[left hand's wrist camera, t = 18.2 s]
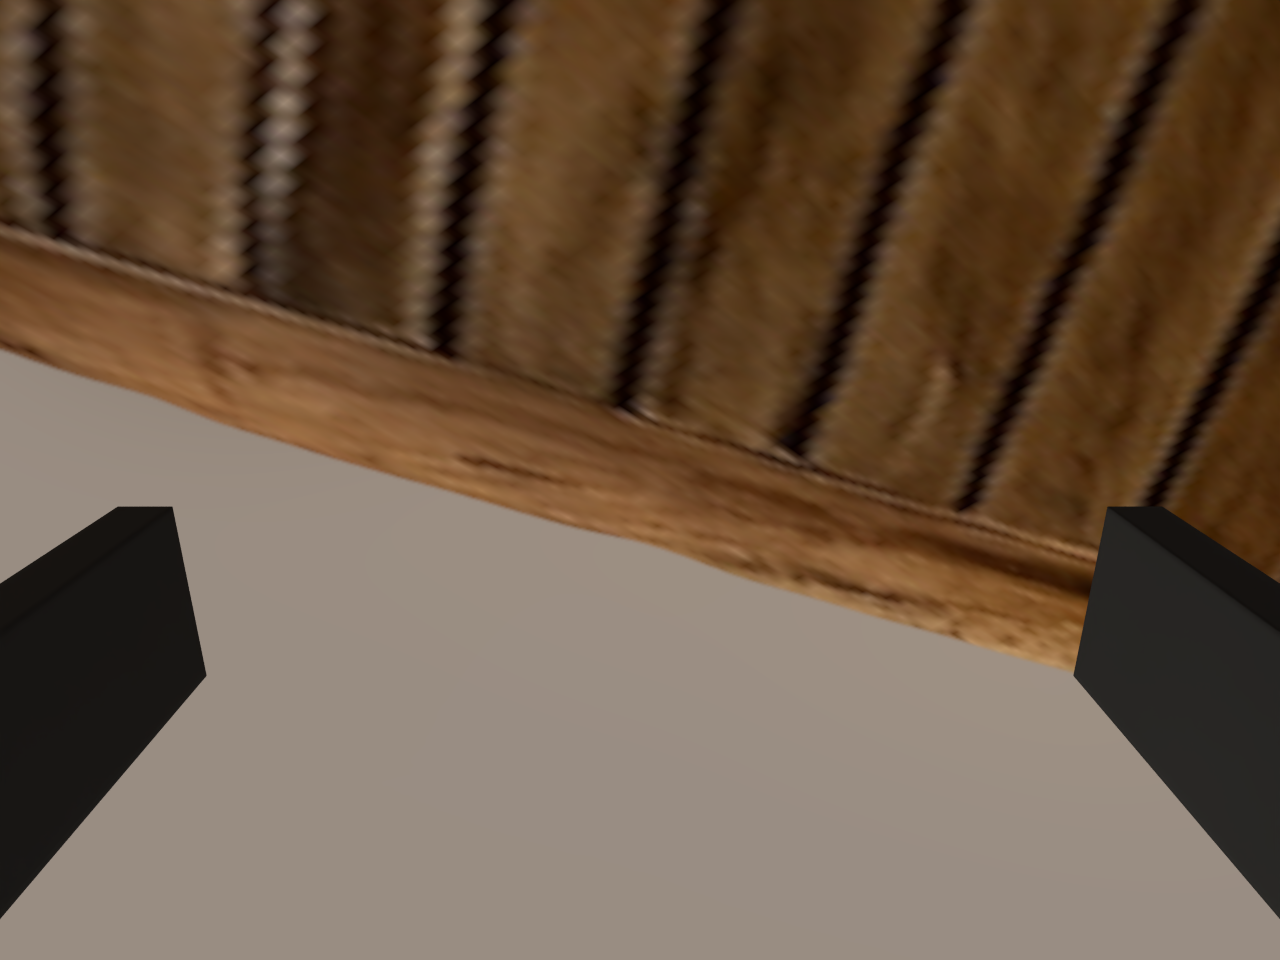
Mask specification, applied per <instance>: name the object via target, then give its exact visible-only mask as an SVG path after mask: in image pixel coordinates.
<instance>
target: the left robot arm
mask: <svg viewBox="0 0 1280 960" xmlns="http://www.w3.org/2000/svg"><path fill="white" fill-rule="evenodd" d="M205 677H206V671H205V666H204V661H203V656H202V651H201V646H200V641H199V636H198V631H197V626H196V621H195V616H194V611H193V606H192V601H191V596H190V591H189V587H188V582H187V577H186V572H185V567H184V562H183V557H182V552H181V547H180V542H179V537H178V532H177V527H176V522H175V517H174V512H173V507H117V508H115V509H113V510H112V511H110V512H109V513H107V514H106V515H104V516H103V517H101V518H100V519H98V520H97V521H95V522H94V523H92V524H91V525H89V526H88V527H86V528H85V529H83V530H81V531H80V532H78V533H77V534H75V535H74V536H72V537H71V538H69V539H68V540H66V541H65V542H63V543H62V544H60V545H58V546H57V547H55V548H54V549H52V550H51V551H49V552H48V553H46V554H45V555H43V556H42V557H40V558H39V559H37V560H36V561H34V562H33V563H31V564H30V565H28V566H26V567H25V568H23V569H22V570H20V571H19V572H17V573H16V574H14V575H13V576H11V577H10V578H8V579H7V580H5V581H4V582H2V583H0V918H1V917H2V916H3V915H4V914H5V913H6V911H7V910H8V909H9V908H10V907H11V905H12V904H13V903H14V902H15V901H16V900H17V898H18V897H19V896H20V895H21V894H22V893H23V891H24V890H25V889H26V888H27V887H28V885H29V884H30V883H31V882H32V881H33V880H34V878H35V877H36V876H37V875H38V874H39V872H40V871H41V870H42V869H43V868H44V867H45V865H46V864H47V863H48V862H49V861H50V859H51V858H52V857H53V856H54V855H55V854H56V852H57V851H58V850H59V849H60V848H61V847H62V845H63V844H64V843H65V842H66V841H67V840H68V838H69V837H70V836H71V835H72V834H73V832H74V831H75V830H76V829H77V828H78V827H79V825H80V824H81V823H82V822H83V821H84V819H85V818H86V817H87V816H88V815H89V814H90V812H91V811H92V810H93V809H94V808H95V806H96V805H97V804H98V803H99V802H100V801H101V799H102V798H103V797H104V796H105V795H106V794H107V792H108V791H109V790H110V789H111V788H112V786H113V785H114V784H115V783H116V782H117V781H118V779H119V778H120V777H121V776H122V775H123V773H124V772H125V771H126V770H127V769H128V768H129V766H130V765H131V764H132V763H133V762H134V761H135V759H136V758H137V757H138V756H139V755H140V753H141V752H142V751H143V750H144V749H145V748H146V746H147V745H148V744H149V743H150V742H151V741H152V739H153V738H154V737H155V736H156V735H157V733H158V732H159V731H160V730H161V729H162V728H163V726H164V725H165V724H166V723H167V722H168V720H169V719H170V718H171V717H172V716H173V715H174V713H175V712H176V711H177V710H178V709H179V708H180V706H181V705H182V704H183V703H184V702H185V700H186V699H187V698H188V697H189V696H190V695H191V693H192V692H193V691H194V690H195V689H196V688H197V686H198V685H199V684H200V683H201V682H202V680H203V679H204V678H205ZM1074 677H1075V678H1076V679H1077V680H1078V682H1079V683H1080V684H1081V685H1082V686H1083V688H1084V689H1085V690H1086V691H1087V692H1088V693H1089V695H1090V696H1091V697H1092V698H1093V699H1094V700H1095V702H1096V703H1097V704H1098V705H1099V706H1100V707H1101V709H1102V710H1103V711H1104V712H1105V713H1106V715H1107V716H1108V717H1109V718H1110V719H1111V720H1112V722H1113V723H1114V724H1115V725H1116V726H1117V728H1118V729H1119V730H1120V731H1121V732H1122V733H1123V735H1124V736H1125V737H1126V738H1127V739H1128V741H1129V742H1130V743H1131V744H1132V745H1133V746H1134V748H1135V749H1136V750H1137V751H1138V752H1139V753H1140V755H1141V756H1142V757H1143V758H1144V759H1145V761H1146V762H1147V763H1148V764H1149V765H1150V766H1151V768H1152V769H1153V770H1154V771H1155V772H1156V774H1157V775H1158V776H1159V777H1160V778H1161V779H1162V781H1163V782H1164V783H1165V784H1166V785H1167V786H1168V788H1169V789H1170V790H1171V791H1172V792H1173V794H1174V795H1175V796H1176V797H1177V798H1178V799H1179V801H1180V802H1181V803H1182V804H1183V805H1184V806H1185V808H1186V809H1187V810H1188V811H1189V812H1190V814H1191V815H1192V816H1193V817H1194V818H1195V819H1196V821H1197V822H1198V823H1199V824H1200V825H1201V827H1202V828H1203V829H1204V830H1205V831H1206V832H1207V834H1208V835H1209V836H1210V837H1211V838H1212V840H1213V841H1214V842H1215V843H1216V844H1217V845H1218V847H1219V848H1220V849H1221V850H1222V851H1223V852H1224V854H1225V855H1226V856H1227V857H1228V858H1229V860H1230V861H1231V862H1232V863H1233V864H1234V865H1235V867H1236V868H1237V869H1238V870H1239V871H1240V873H1241V874H1242V875H1243V876H1244V877H1245V878H1246V880H1247V881H1248V882H1249V883H1250V884H1251V885H1252V887H1253V888H1254V889H1255V890H1256V891H1257V893H1258V894H1259V895H1260V896H1261V897H1262V898H1263V900H1264V901H1265V902H1266V903H1267V904H1268V905H1269V907H1270V908H1271V909H1272V910H1273V911H1274V912H1275V914H1276V915H1277V916H1278V917H1279V918H1280V583H1278V582H1277V581H1275V580H1273V579H1272V578H1270V577H1269V576H1267V575H1266V574H1264V573H1263V572H1261V571H1260V570H1258V569H1257V568H1255V567H1254V566H1252V565H1251V564H1249V563H1247V562H1246V561H1244V560H1243V559H1241V558H1240V557H1238V556H1237V555H1235V554H1234V553H1232V552H1231V551H1229V550H1228V549H1226V548H1225V547H1223V546H1222V545H1220V544H1218V543H1217V542H1215V541H1214V540H1212V539H1211V538H1209V537H1208V536H1206V535H1205V534H1203V533H1202V532H1200V531H1199V530H1197V529H1196V528H1194V527H1192V526H1191V525H1189V524H1188V523H1186V522H1185V521H1183V520H1182V519H1180V518H1179V517H1177V516H1176V515H1174V514H1173V513H1171V512H1170V511H1168V510H1167V509H1165V508H1163V507H1107V512H1106V517H1105V522H1104V527H1103V532H1102V537H1101V542H1100V547H1099V552H1098V557H1097V562H1096V567H1095V572H1094V577H1093V581H1092V586H1091V591H1090V596H1089V601H1088V606H1087V611H1086V616H1085V621H1084V626H1083V631H1082V636H1081V641H1080V646H1079V651H1078V656H1077V661H1076V666H1075V671H1074Z"/></svg>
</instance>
